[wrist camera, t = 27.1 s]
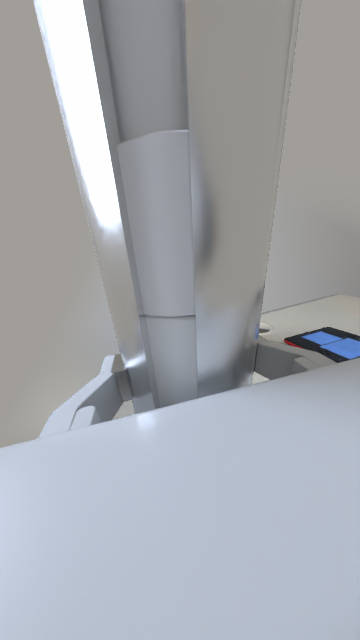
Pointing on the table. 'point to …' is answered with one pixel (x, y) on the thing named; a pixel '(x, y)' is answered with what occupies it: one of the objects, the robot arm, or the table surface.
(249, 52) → the silver tall cylinder
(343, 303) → the table surface
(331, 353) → the game console
